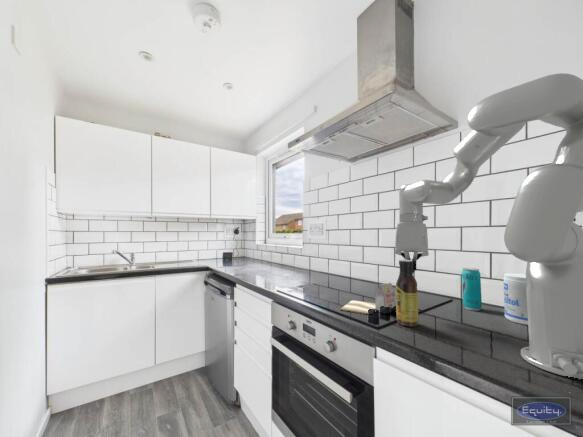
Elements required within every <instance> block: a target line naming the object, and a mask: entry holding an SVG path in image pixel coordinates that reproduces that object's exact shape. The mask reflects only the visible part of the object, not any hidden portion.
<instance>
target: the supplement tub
mask: <svg viewBox="0 0 583 437" xmlns="http://www.w3.org/2000/svg"><path fill="white" fill-rule="evenodd" d="M503 302H504V303H503V304H504V317H505V318H506V319H507V320H508V321H510V322H513V323H516V324H520V325H525V326H528V313H527V296H526V273H517V272H516V273H513V272H510V273H509V272H508V273H507V272H505V273H504V275H503Z"/></svg>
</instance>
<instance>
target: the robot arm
mask: <svg viewBox="0 0 583 437" xmlns="http://www.w3.org/2000/svg"><path fill="white" fill-rule="evenodd" d="M469 111H470V112H469V114H468V115H467V125H468V127H469V128H470V129H471V130H470V132H469V133H468V134H467V135H466V136H465V137H464V138H463V139H461V141H460V142H459V143H458V144H457V145H456V146H455V147H454V149H453V156H454V157H455V159H456V166H455V167H454V169H453V170H452V172H451V173H450V174H449V175H448V176H447V177H446V178H444V180H443V181H439V180H432V179H431V180H430V179H422V180H419V181H417V182H415V183H414V182H413V183H409V184H403V185H401V186H400V187H399V190H398V191H399V192H398V195H399V198H398V199H399V201H398V202H399V208H398V210H399V223H397V225H396V230H395V246H394V248H395V250H394V254H395V255H399V256H402V258H403V259H404V260H412V261H413V274H414V273H415V271H417V261H418V260H419V259H420V258H423V257H428V256H429V255H430V252H429V250H428V249H429V240H428V228H427V225H426V224H427V223H424V222H425V221H428V220H429V218H428V217H429V216H427V215H425V214H424V204H431V205H446V204H449V203H451V202H453V201H454V200H456V199H457V198H459V196H460V195H461V194H463V193H464V192H465V191H466V190H468V188H469V187H470V186H471V185H472V183H473V182H474V180H475V178H476V176H477V174H478V172H479V169H480V167H481V166H483V165H484V163H486V162H487V161H488V160H489V159H490V158H491V157H492V156H493V155H495V154H496V153H497V152H498V151H499V150H500V149H501V148H502V147H503V146H505V145H506V144H507V143H508V142H509V141H510V140H511V139H512V138H514V136H516V135H517V134H518V133H519V132H520V131H521V130H522V129H524V127H525V125H526V124H527V123H528V122H529V123H530V122H533V121H538V120H539V121H541V122H544V123H546V124H549V125H552V126H555V127H559V128H562V129H565V131H566V133H565V134H564V137H563V138H562V140H561V141H560V143H559V145H558V146H557V149H556V151H555V152H556V153H555V155H554V158H553V161H552V163H549V164H546V165H542V166H539V167H538V168H536V169H535V170H532V171H531V172H530V173H529V174H528V175H527V176H526V177H525V178H524V179H523V181H522V182H521V183H520V185H519V188H518V190H517V193H516V196H515V198H514V199H515V200H514V203H513V205H512V208H511V211H510V214H509V217H508V220H507V223H506V225H505V229H504V233H503V234H504V235H503V239H504V240H503V241H504V245H505V247H506V249H507V250H508V252H509V253H510V254H511V255H512V256H513V257H514V258H516V259H519V260H520V261H523V262H526V269H525V274H526V296H527V313H528V325H527V326H528V342H529V343H528V344H529V345H528V346H524V347H522V348H521V349H520V356H521V357H522V359H523V360H525V361H526V362H527V363H529V364H530V365H532V366H535V367H536V368H539V369H541V370H544V371H546V372H550V373H552V374H555V375H559V376H563V377H566V376H568V377H567V378H570V377H574V378H573V379H575V378H578V379H577V380H581V379H583V228H582V227H581V226H580V225H579V224H577V223H575V222H574V221H575V218H576V216H577V213H582V212H583V79H582V78H580V77H579V76H577V75H574V74H571V73H563V72H562V73H553V74H548V75H545V76H541V77H539V78H536V79H532V80H531V81H527V82H524V83H521V84H518V85H515V86H513V87H511V88H506V89H504V90H502V91H497V92H496V93H493V94H492V95H489V96H487V97H485V98H483V99H482V100H480V101H479V102H477V103H476V104H475V105H473V107H472V109H471V110H469ZM410 253H413V257H412V259H411V257H410Z"/></svg>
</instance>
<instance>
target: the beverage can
mask: <svg viewBox="0 0 583 437" xmlns="http://www.w3.org/2000/svg"><path fill="white" fill-rule="evenodd" d="M481 283H482V280H481V272H480V268H475V267H462V270H461V289H462V305H463V307H464V309H466V310H469V311H472V312H473V311H475V312H477V311H481V308H482V306H483V304H482V301H483V300H482V288H481V287H482V284H481Z"/></svg>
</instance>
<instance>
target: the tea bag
mask: <svg viewBox="0 0 583 437" xmlns="http://www.w3.org/2000/svg"><path fill="white" fill-rule="evenodd" d="M374 298H375V299H374V300H375V301H374V303H375V308H376V309H377V310H380V307H381V306H384V307H390V308H393V307H394V306H396V291H395V290H394V287H393V285H392V282H387V283H382V284H378V288H377V291H376V293H375V296H374Z"/></svg>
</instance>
